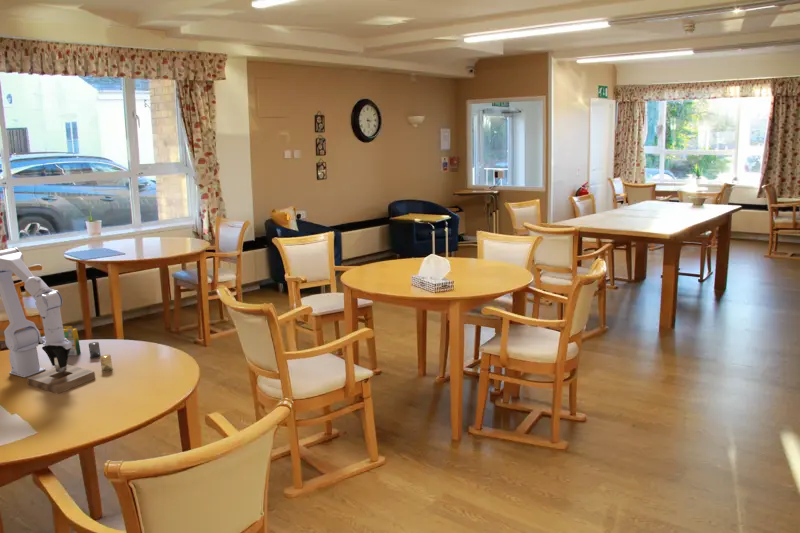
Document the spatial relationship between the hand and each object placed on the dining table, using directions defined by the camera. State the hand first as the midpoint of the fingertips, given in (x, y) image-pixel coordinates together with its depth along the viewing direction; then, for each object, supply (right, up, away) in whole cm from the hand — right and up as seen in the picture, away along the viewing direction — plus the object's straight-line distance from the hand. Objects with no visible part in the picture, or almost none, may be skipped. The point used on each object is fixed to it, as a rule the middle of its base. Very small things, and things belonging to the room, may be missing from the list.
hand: (59, 365), depth 234 cm
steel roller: (0, -2, +1) cm, 2 cm away
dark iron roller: (+1, 0, +24) cm, 24 cm away
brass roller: (+12, -3, +11) cm, 16 cm away
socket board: (0, -6, +1) cm, 6 cm away
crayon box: (-10, 0, +27) cm, 29 cm away
